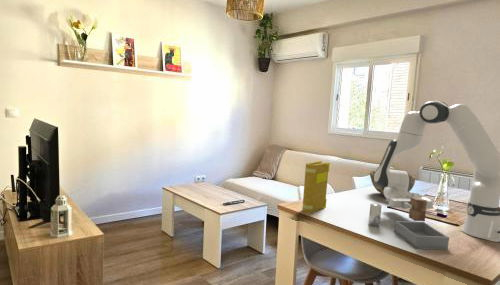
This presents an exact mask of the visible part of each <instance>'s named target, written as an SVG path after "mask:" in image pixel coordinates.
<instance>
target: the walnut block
mask: <svg viewBox="0 0 500 285" xmlns="http://www.w3.org/2000/svg"><path fill="white" fill-rule="evenodd" d="M410 204H412V205H414V209H410V208H409V211H408V218H409V219H411V220H412V221H413V222H425V221H426V213H427V212H426V211H427V209H426V204H427V200H425V199H423V198H420V197H411V199H410Z"/></svg>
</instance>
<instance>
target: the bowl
mask: <svg viewBox="0 0 500 285" xmlns="http://www.w3.org/2000/svg"><path fill="white" fill-rule="evenodd" d="M375 172H376V170H372V171H370V172H369V178H370V181H371V183H372V186H373V187H374V189H375V190H376V191H377V192H379V193H380V195H383V196H384V197H385V195H384V188H385V187H379V186H378V185H377V184H376V183H375V182H374V174H375ZM408 174H409V173H408ZM409 176H410V178H411V186H410V189H409V190H408V192H411V191H412V190H413V188H414V186H415V183H416V177H415V176H414V175H413V174H409Z"/></svg>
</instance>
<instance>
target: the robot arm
mask: <svg viewBox="0 0 500 285" xmlns="http://www.w3.org/2000/svg"><path fill="white" fill-rule="evenodd" d="M442 122H446V123H447V124H448V125H449V126H450V128H451V129H452V131H453V133H454V134H455V136H456V137H457V140H459V142H460V144H461V145H462V147H463V149H464V151H465V153H466V154H467V156H468V158H469V160H470V162H471V164H472V165H473V175H472V179H471V180H472V181H471V188H470V196H469V201H468V203H467V211H466V212H467V214H466V216H465V221H464V223H463V225H462V227H461V231H462V232H463V233H465V235H466V234H467V235H469V236H472V237H476V238H479V239H482V240H487V241H490V242H494V243H499V242H500V206H499V205H500V151H499V150H498V148H497V147H496V145H495V144H494V141H492V139H491V137H490V136H489V134H488V132H487V131H486V129H485V128H484V126H483V124H482V122H481V121H480V120H479V118H478V117H477V115H476V114H475V113H474V112H473V110H472V109H471V108H470V107H469V106H468V105H467V104H465V103H457V104H456V103H455V104H454V105H450V106H449V105H448V104H447V103H446V102H443V101H439V100H430V101H426V102H425V103H423V104H422V105H421V107H420V109H419V111H416V110H413V111H408V112H406V114H405V116H404V118H403V119H402V122H401V125H400V128H399V132H398V134H397V136H396V137H395V138H394V139H391V141H390V142H389V143H388V145H387V147H386V149H385V152H384V154H383V157H382V158H381V160H380V163H379V165H378V167H377V168H376V170H375V174H374V182H375V183H376V184H377V185H378V186H379V187H385V188H384V195H385V196H384V195H383V196H384V198H385V201H386V202H388V205H390V206H391V207H392V208H401V209H404V210H406V209H409V210H410V209H414V205H412V204H410V199H411V197H420V198H423V199H425V200H427V204H426V210H427V209H432V207H433V203H434V202H433V200H432V199H430V198H428V197H425V196H424V195H422V194H421V193H417V192H411V191H409V192H408V190H409V189H410V186H411V178H410V176H409V173H408V171H406V170H397V169H391V166H392V164H393V161H394V159H395V157H396V155H398V154H400V153H403V152H407V151H411V150H413V149H416V148H417V147H419V146H420V144H421V142H422V140H423V136H424V131H425V128H426V127H427V126H428V124H439V123H442Z"/></svg>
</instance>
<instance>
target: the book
mask: <svg viewBox="0 0 500 285" xmlns="http://www.w3.org/2000/svg"><path fill="white" fill-rule="evenodd" d="M330 164H331V163H330V162H328V161H327V162H322V161H321V160H317V161H312V162H308V163H305V168H304V169H305V171H304V183H303V194H302V209H301V211H302V212H303V213H306V214H313V213H315V212H317V211H320V210H323V209H325V208H327V199H328V198H327V191H328V190H327V188H328V176H329V172H330V166H331V165H330ZM319 209H320V210H319Z"/></svg>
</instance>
